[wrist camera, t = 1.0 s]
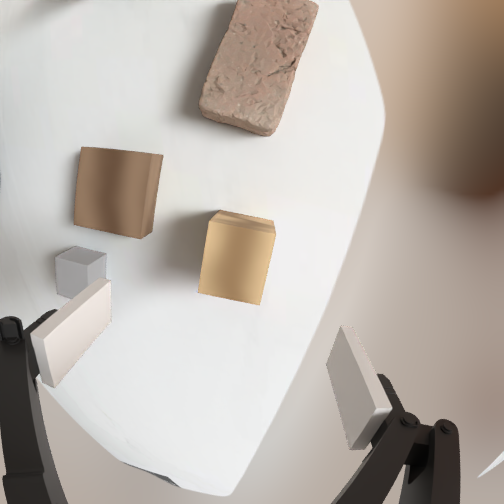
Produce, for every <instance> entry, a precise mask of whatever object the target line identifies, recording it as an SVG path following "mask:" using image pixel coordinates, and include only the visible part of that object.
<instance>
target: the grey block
mask: <svg viewBox="0 0 504 504" xmlns="http://www.w3.org/2000/svg"><path fill="white" fill-rule="evenodd" d="M106 260H107V254H106V253H102V252H98V251H94V250H90V249H86V248H82V247H78V246H75V247H73V248H71V249H69V250H67V251H65V252H63V253H61V254H59V255H58V256H56V257H55V267H56V287H57V294H58V295H61V296H64V297H67V298H70V299H73V298H74V297H75V296H76V295H78V294H79V293H80V292H81V291H83V290H84V289H85V288H87V287H88V286H89V285H90V284H92V283H93V282H94V281H96V280H97V279H98V278H104V279H106Z"/></svg>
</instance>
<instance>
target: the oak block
mask: <svg viewBox="0 0 504 504" xmlns="http://www.w3.org/2000/svg"><path fill="white" fill-rule="evenodd" d="M275 237H276V231H275V227H274V222H273V221H272V220H267V219H263V218H258V217H253V216H248V215H243V214H238V213H233V212H228V211H223V210H219V211H218V212H217V213H216V214H215V215H214V216H213V217H212V218H211V220H210V221H209V225H208V230H207V236H206V242H205V249H204V255H203V261H202V268H201V274H200V281H199V288H198V293H202V294H207V295H211V296H216V297H221V298H226V299H230V300H235V301H240V302H245V303H250V304H256V305H260V302H261V298H262V293H263V289H264V285H265V281H266V276H267V272H268V268H269V263H270V259H271V255H272V250H273V246H274V242H275Z"/></svg>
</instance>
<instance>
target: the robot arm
mask: <svg viewBox="0 0 504 504" xmlns="http://www.w3.org/2000/svg"><path fill="white" fill-rule="evenodd" d="M110 323H111V280H108V279H104V278H98V279H97V280H96V281H94V282H93V283H92V284H90V285H89V286H88V287H87V288H85V289H84V290H83V291H81V292H80V293H79V294H78V295H76V296H75V297H74V298H73V299H71V300H70V301H69V302H68V303H66V304H65V305H64V306H63V307H61V308H60V309H59V310H56V309H53V310H51V311H48V312H46V313H45V314H43V315H42V316H41V317H40V318H38V319H37V320H36V322H34V323H32V324H31V325H30V326H29V327H27V328H26V329H25V330H24V331H23V326H22V322H21V320H20V319H19V318H17V317H14V316H8V317H4V318H2V319H0V429H1V439H2V448H3V455H4V461H5V467H6V475H4V476H3V479H2V480H3V486H4V491H5V496H6V500H7V504H68V502H67V500H66V497H65V494H64V492H63V489H62V486H61V483H60V480H59V477H58V474H57V471H56V468H55V465H54V461H53V458H52V454H51V450H50V447H49V443H48V439H47V435H46V430H45V426H44V421H43V416H42V411H41V405H40V400H39V394H38V387H37V381H36V377H37V375H38V374H39V373H40V376H41V379H42V383H44V384H47V385H49V386H51V387H53V388H56V387H57V385H58V384H59V383H60V382H61V380H62V379H63V378H64V377H65V376H66V374H67V373H68V372H69V371H70V369H71V368H72V367H73V366H74V365H75V363H76V362H77V361H78V360H79V359H80V357H81V356H82V355H83V354H84V353H85V351H86V350H87V349H88V348H89V347H90V346H91V344H92V343H93V342H94V341H95V340H96V339H97V337H98V336H99V335H100V334H101V333H102V332H103V331H104V329H105V328H106V327H107V326H108V325H109V324H110ZM326 366H327V369H328V373H329V376H330V380H331V383H332V387H333V390H334V394H335V397H336V401H337V405H338V409H339V412H340V416H341V420H342V424H343V427H344V431H345V435H346V439H347V442H348V446H349V450H361V449H363V450H364V449H365V448H366V447H367V446H368V444H369V443H370V441H371V444H372V447H373V448H372V450H371V451H370V452H369V453H368V455H367V456H366V457H365V459H364V460H363V461H362V464H361V465H360V467H359V468H358V470H357V471H356V472H355V474H354V475H353V476H352V478H351V479H350V480H349V482H348V483H347V484H346V486H345V487H344V488H343V489H342V491H341V492H340V493H339V495H338V496H337V497H336V498H335V499H334V501H333V502H332V503H331V504H382V503H383V501H384V500H385V498H386V496H387V494H388V493H389V491H390V489H391V487H392V486H393V484H394V482H395V480H396V478H397V476H398V474H399V472H400V470H401V468H402V466H403V465H404V464H405V465H406V468H405V474H404V480H403V485H402V491H401V495H400V500H399V504H460V449H459V434H458V429H457V427H456V425H455V424H454V423H452V422H451V421H449V420H446V419H440V420H438V421H437V422H436V423H435V424H434V426H428V425H423V424H420V421H419V419H418V418H417V417H416V416H415V415H413V414H411V413H408V412H405V410H404V408H403V406H402V404H401V402H400V400H399V398H398V397H397V394H396V392H395V390H394V389H393V386H392V384H391V382H390V380H389V379H387V378H386V377H385V376H384V375H383V374H376V372H375V370H374V368H373V366H372V364H371V362H370V360H369V358H368V356H367V354H366V352H365V350H364V348H363V346H362V344H361V342H360V340H359V338H358V336H357V334H356V332H355V330H354V329H353V327H348V326H340V329H339V332H338V334H337V337H336V340H335V342H334V345H333V348H332V350H331V353H330V356H329V358H328V361H327V363H326Z"/></svg>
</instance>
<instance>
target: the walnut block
mask: <svg viewBox="0 0 504 504" xmlns="http://www.w3.org/2000/svg"><path fill="white" fill-rule="evenodd" d="M162 160H163V155H159V154H152V153H144V152H135V151H126V150H117V149H107V148H95V147H81V153H80V160H79V167H78V176H77V185H76V196H75V209H74V225H77V226H81V227H86V228H91V229H95V230H100V231H104V232H109V233H114V234H118V235H123V236H128V237H132V238H137V239H142V238H143V237H145V236H146V235H148V234H149V233H151V232H152V229H153V220H154V212H155V205H156V198H157V191H158V184H159V178H160V172H161V166H162Z"/></svg>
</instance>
